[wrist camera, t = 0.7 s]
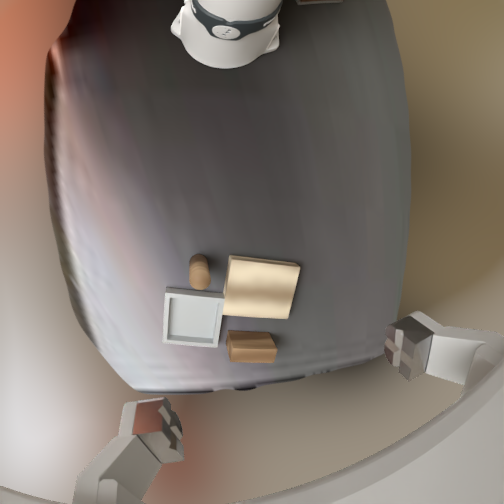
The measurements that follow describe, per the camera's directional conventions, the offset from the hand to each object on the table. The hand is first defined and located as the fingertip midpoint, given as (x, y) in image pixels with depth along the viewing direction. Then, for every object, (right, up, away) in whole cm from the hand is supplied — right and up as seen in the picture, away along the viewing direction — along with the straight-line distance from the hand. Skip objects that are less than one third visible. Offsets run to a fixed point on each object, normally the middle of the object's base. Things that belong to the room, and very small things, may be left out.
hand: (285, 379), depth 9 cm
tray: (-12, -7, +40) cm, 43 cm away
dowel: (-10, +2, +38) cm, 39 cm away
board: (0, -2, +42) cm, 42 cm away
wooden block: (-2, -12, +44) cm, 46 cm away
